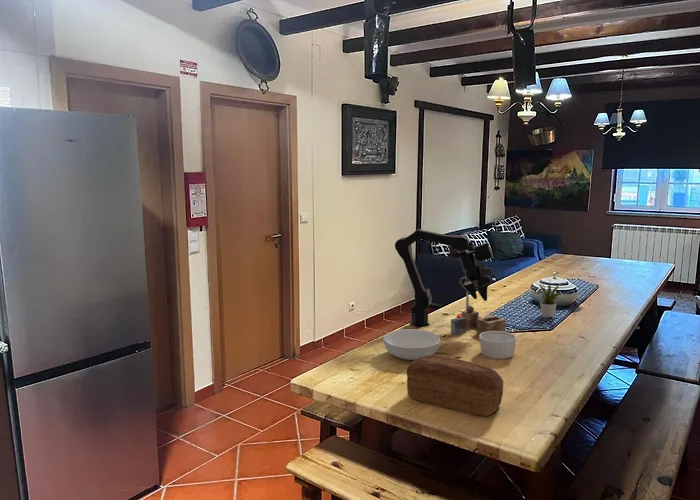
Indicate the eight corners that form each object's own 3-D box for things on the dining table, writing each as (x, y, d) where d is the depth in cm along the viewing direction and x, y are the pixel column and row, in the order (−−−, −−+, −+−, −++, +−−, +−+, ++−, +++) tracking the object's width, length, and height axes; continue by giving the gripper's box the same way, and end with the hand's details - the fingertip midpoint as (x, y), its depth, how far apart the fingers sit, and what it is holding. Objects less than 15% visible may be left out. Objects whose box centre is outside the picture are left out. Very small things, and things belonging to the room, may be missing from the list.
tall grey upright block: (454, 334, 217) (454, 320, 216) (450, 333, 219) (450, 319, 218) (466, 332, 220) (466, 318, 219) (462, 330, 222) (462, 317, 221)
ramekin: (471, 351, 198) (471, 333, 196) (500, 345, 203) (500, 328, 201) (494, 363, 185) (494, 344, 184) (524, 357, 191) (524, 338, 189)
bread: (421, 383, 171) (421, 347, 169) (507, 403, 155) (508, 363, 153) (400, 400, 160) (399, 361, 158) (491, 423, 144) (491, 380, 142)
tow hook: (456, 315, 246) (457, 320, 236) (457, 288, 244) (457, 292, 235) (475, 315, 244) (477, 320, 235) (475, 288, 243) (477, 292, 234)
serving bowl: (403, 370, 182) (403, 351, 181) (373, 352, 200) (372, 334, 199) (452, 358, 191) (452, 340, 190) (418, 342, 210) (418, 325, 208)
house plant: (527, 319, 235) (528, 283, 232) (529, 310, 247) (530, 276, 245) (561, 321, 229) (563, 285, 227) (562, 313, 242) (563, 278, 239)
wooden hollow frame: (488, 337, 212) (489, 316, 211) (458, 325, 229) (458, 306, 227) (505, 333, 216) (505, 313, 215) (474, 322, 233) (474, 303, 231)
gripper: (496, 258, 214) (508, 294, 215) (476, 258, 232) (487, 291, 233) (472, 267, 211) (484, 304, 212) (453, 267, 230) (464, 300, 230)
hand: (480, 299), depth 222 cm, fingers open, 9 cm apart
